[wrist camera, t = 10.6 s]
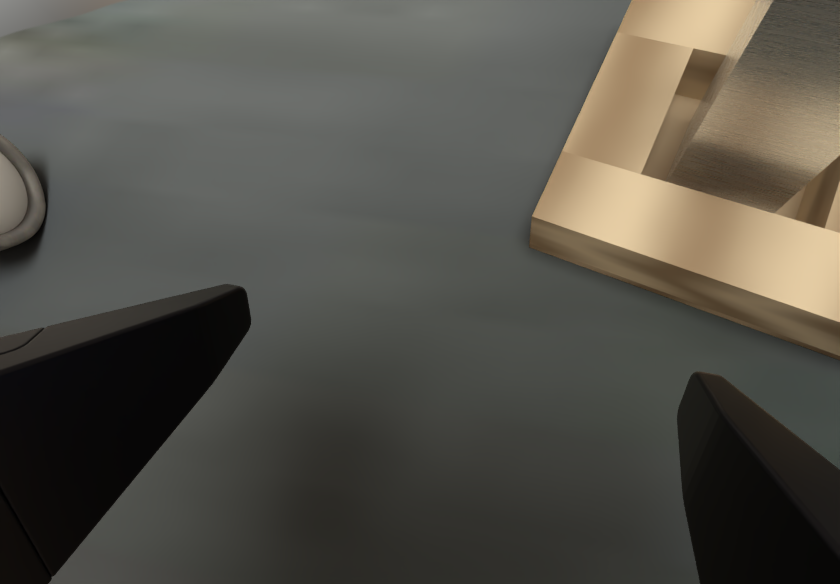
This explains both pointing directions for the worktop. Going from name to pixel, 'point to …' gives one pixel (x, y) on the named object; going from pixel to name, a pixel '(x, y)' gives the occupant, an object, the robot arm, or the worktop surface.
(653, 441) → the worktop surface
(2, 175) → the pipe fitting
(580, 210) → the socket block
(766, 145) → the grey rectangular block
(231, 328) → the robot arm
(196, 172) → the worktop surface
